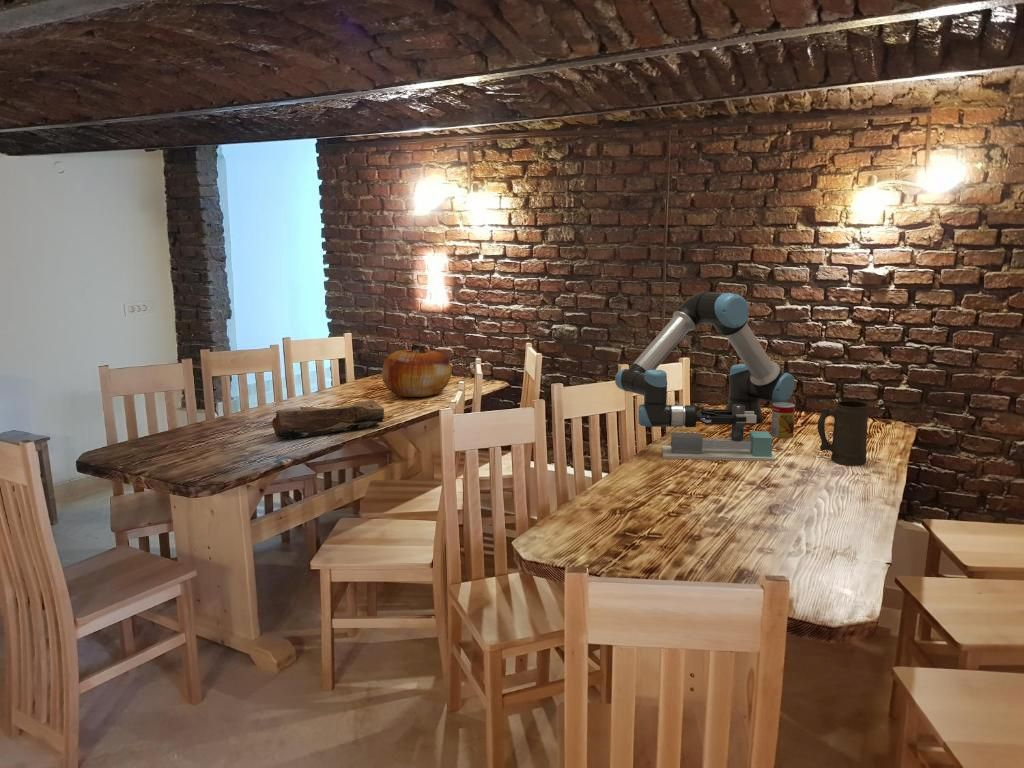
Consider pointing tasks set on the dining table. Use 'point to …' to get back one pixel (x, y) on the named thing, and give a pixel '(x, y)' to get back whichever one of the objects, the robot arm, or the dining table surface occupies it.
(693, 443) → the sleeve
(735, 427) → the grey black upright frame
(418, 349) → the pumpkin
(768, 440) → the socket
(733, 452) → the baseboard
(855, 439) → the beer stein
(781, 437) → the canned food
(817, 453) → the dining table surface
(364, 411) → the log
